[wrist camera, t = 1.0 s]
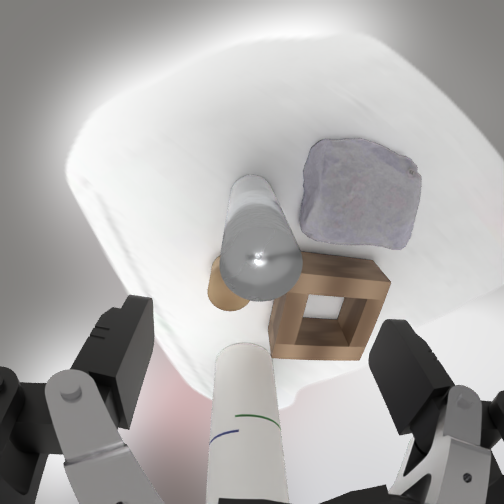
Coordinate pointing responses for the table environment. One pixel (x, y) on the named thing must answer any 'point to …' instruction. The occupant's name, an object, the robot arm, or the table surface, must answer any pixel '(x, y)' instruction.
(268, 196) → the steel pin
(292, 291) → the collar
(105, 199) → the table surface
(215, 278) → the oak stub
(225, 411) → the cylindrical container
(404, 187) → the stone block
